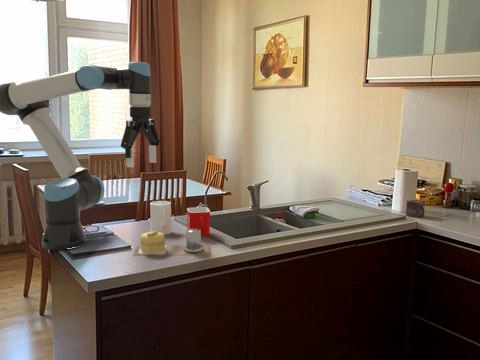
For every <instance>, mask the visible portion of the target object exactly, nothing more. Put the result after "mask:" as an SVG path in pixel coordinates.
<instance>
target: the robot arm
mask: <svg viewBox="0 0 480 360" xmlns="http://www.w3.org/2000/svg"><path fill="white" fill-rule="evenodd" d="M151 76H152V75H151V66H150V64H149V63H148V62H145V61H144V62H143V61H131V62H128V66H127V67H125V68H122V67H107V66H99V65H93V64H86V65H82V66H80V67H79V69H74V70H71V71H66V72H63V73H57V74H54V75H51V76H45V77H42V78H38V79H34V80H29V81H25V82H19V81H13V82H8V83H2V84H0V113H2V114H4V115H7V116H18V119H20V121H21V123H22V125H23V124H24V125H26V126H29V127H30V129H31V131H32V133H33V134H34V135H35V138H36V139H37V141H38V143H39V144H40V146H41V148H42V149H43V150H44V152H45V154H46V155H47V157H48V159H49V160H50V162H51V163H52V165H53V167H54V168H55V171H56V172H57V173H58V175H59V176H60V178H59V179H54V180H51V181H49V182H47V183H46V184H45V185H44V188H43V190H44V191H43V192H44V193H43V198H44V211H45V228H44V232H43V235H42V238H41V247H42V248H43V249H45V250H48V251H67V250H66V249H67V248H72V247H78V246H81V245H83V244H85V243H86V244H87V236H86V233H85V231H84V227H83V225H82V223H81V211H83V210H87V209H89V208H93V207H94V206H96V205H98V204H99V203H100V202H101V201H103V198H104V195H105V185H104V183H103V181H102V180H101V179H100V178H99V177H98V176H95V175H92V174H91V172H90V170H89V169H88V168H87V167H83V166H81V163H80V162H79V160H78V159H77V157H76V156H75V154H74V152H73V151H72V149H71V147H70V146H69V144H68V141H66V139H65V138H64V136H63V134H62V133H61V131H60V129H59V128H58V126H57V125H56V122H55V121H54V119H53V118H52V116H51V112H52V109H51V107H50V106H51V103H50V102H51V100H52V99H57V98H61V97H67V96H69V95H74V94H78V93H83V92H87V91H88V92H89V91H93V90H109V91H111V90H129V91H128V92H129V96H128V97H129V98H128V101H129V105H130V107H129V116H130V118H131V120H126V121H125V129H124V131H123V135H122V139H121V143H120V148H122V149H124V152H125V154H124V155H125V162H126V163H125V164H126V165H125V167H126V168H134V167H135V160H134V159H135V158H134V148H133V146H134V144H135V142H136V140H137V137H138V135H139V134H140V133H143V134H144V136H145V137H146V139H147V141H148V143H149V145H148V161H149V163H152V164H156V163H157V146H160V141H161V139H160V137H159V134H158V130H157V126H156V124H155V123H156V122H155V121H156V120H155V119H154V118H151V117H152V108H151V105H152V100H151V99H152V98H151V97H152V96H151ZM86 244H85V245H86ZM83 246H84V245H83ZM81 247H82V246H81ZM78 248H79V247H78Z"/></svg>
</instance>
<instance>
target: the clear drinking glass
mask: <svg viewBox="0 0 480 360" xmlns="http://www.w3.org/2000/svg"><path fill="white" fill-rule="evenodd" d="M185 235H186V236H185V239H186V240H185V245H186V246H184V247H183V250H184V251H185V252H188V253H198V252H202V251H203V250H204V247H203V246H202V245H203V244H202V243H201V242H202V236H201V230H199V229H188V230H187V229H186V230H185Z"/></svg>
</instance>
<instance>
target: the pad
mask: <svg viewBox="0 0 480 360" xmlns="http://www.w3.org/2000/svg"><path fill="white" fill-rule="evenodd" d="M167 245H168V244H165V250H163V251H161V252H156V253H146V252H142V251H141V247H140V250H139V252H138V255H152V254H165V252H166V248H167Z"/></svg>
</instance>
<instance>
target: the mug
mask: <svg viewBox="0 0 480 360" xmlns="http://www.w3.org/2000/svg"><path fill="white" fill-rule="evenodd" d="M149 204H150V205H149V206H150V231H149V232H153V231H158V232H161V233H164V235H169V234H171V233H172V232H173V229H172V206H171V205H172V202H170V201H168V200H155V201H151V202H150V203H149Z"/></svg>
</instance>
